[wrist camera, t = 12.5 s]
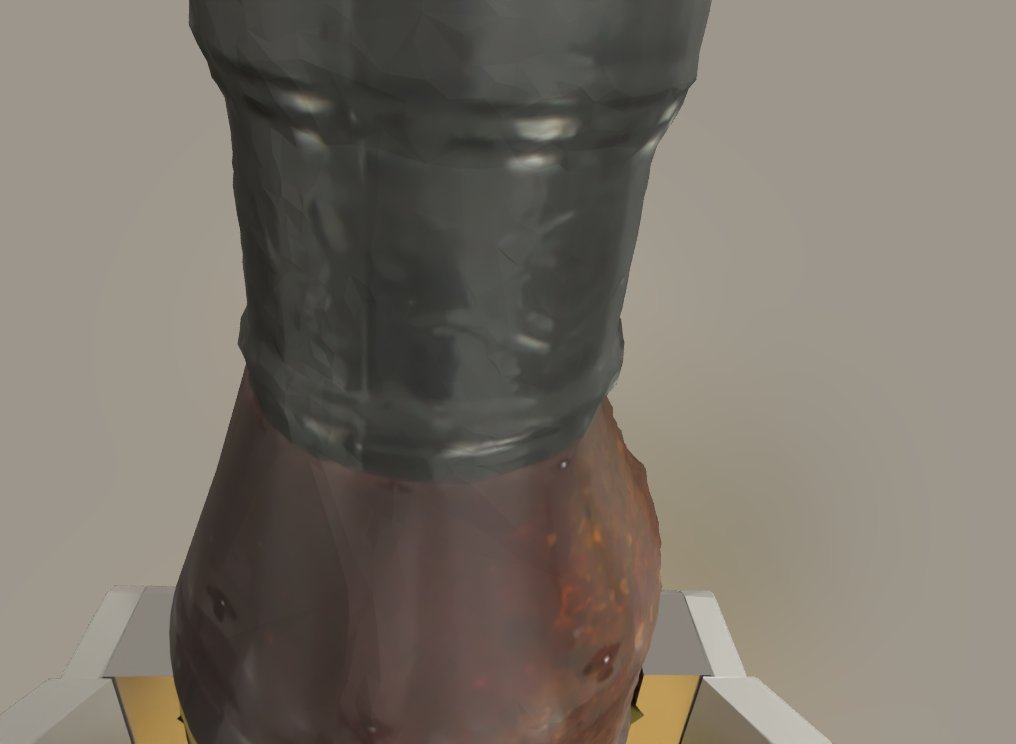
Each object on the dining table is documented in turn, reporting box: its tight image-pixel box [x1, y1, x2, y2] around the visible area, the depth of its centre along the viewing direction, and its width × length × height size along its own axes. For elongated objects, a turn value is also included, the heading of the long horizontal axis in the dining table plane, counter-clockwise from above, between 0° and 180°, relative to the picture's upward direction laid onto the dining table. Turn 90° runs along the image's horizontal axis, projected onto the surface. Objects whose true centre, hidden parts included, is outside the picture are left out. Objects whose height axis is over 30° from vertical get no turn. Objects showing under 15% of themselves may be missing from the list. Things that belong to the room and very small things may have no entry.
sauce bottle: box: [169, 0, 711, 744], centre depth 11 cm, size 7×6×20 cm
